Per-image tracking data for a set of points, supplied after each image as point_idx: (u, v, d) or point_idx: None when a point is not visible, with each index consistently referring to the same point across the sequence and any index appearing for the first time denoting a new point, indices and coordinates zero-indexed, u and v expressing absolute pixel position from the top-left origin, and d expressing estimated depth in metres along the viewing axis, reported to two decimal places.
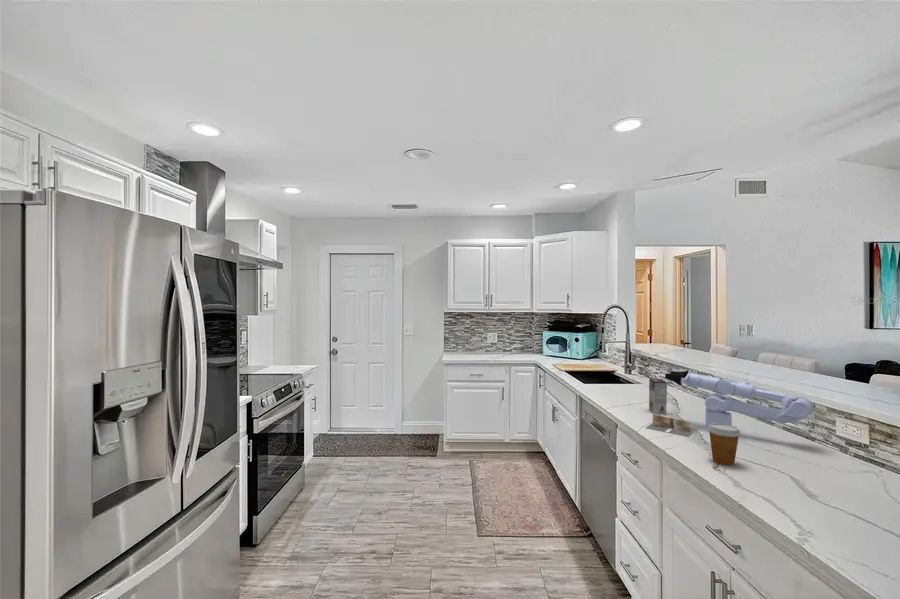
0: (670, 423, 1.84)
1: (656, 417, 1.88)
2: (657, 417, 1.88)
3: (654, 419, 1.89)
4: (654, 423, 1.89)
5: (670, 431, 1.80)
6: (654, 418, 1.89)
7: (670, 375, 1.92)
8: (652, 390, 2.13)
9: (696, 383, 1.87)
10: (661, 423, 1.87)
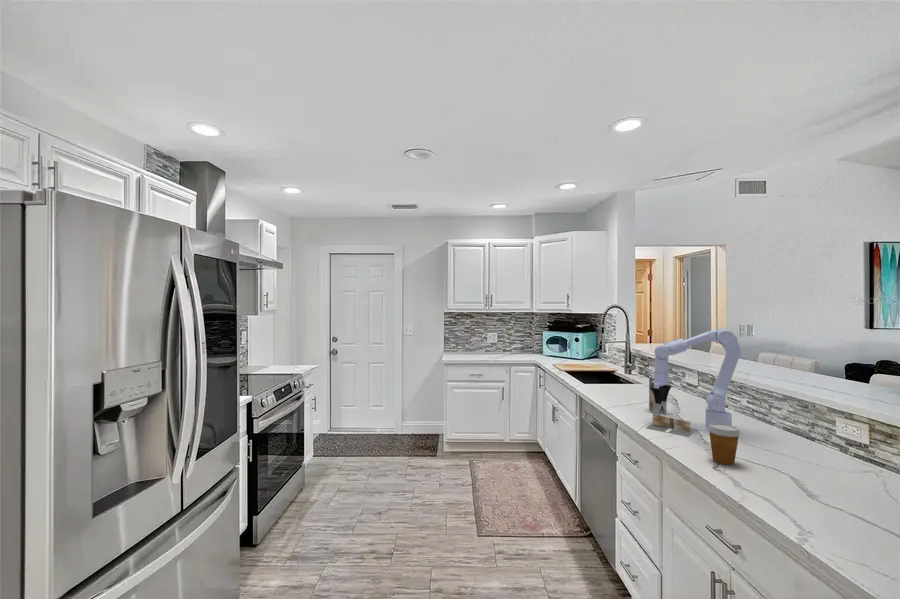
0: (670, 423, 1.84)
1: (656, 417, 1.88)
2: (657, 417, 1.88)
3: (654, 419, 1.89)
4: (654, 423, 1.89)
5: (670, 431, 1.80)
6: (654, 418, 1.89)
7: (656, 398, 1.90)
8: None
9: (661, 376, 1.90)
10: (661, 423, 1.87)
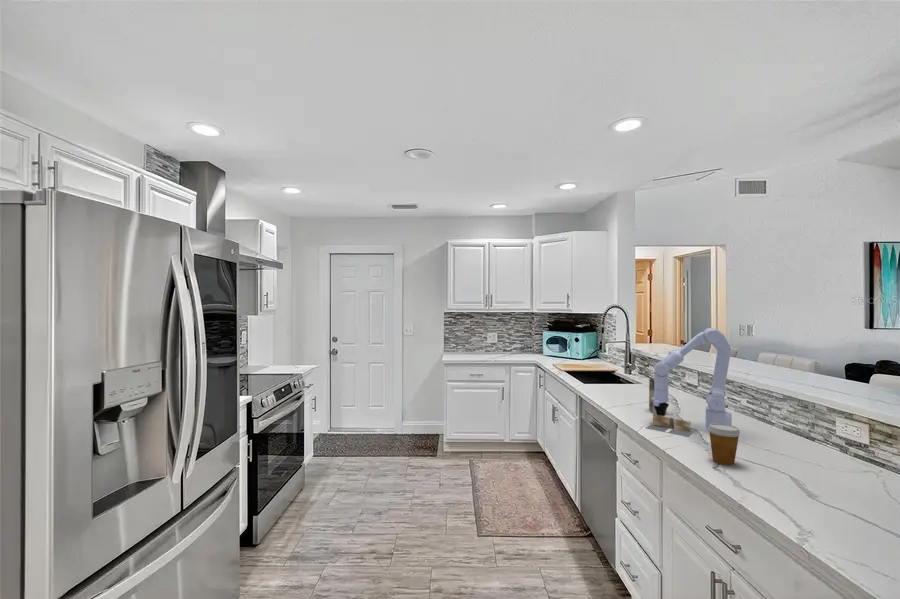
0: (670, 423, 1.84)
1: (656, 417, 1.88)
2: (657, 417, 1.88)
3: (654, 419, 1.89)
4: (654, 423, 1.89)
5: (670, 431, 1.80)
6: (654, 418, 1.89)
7: (658, 414, 1.92)
8: (652, 390, 2.13)
9: (660, 393, 1.90)
10: (661, 423, 1.87)
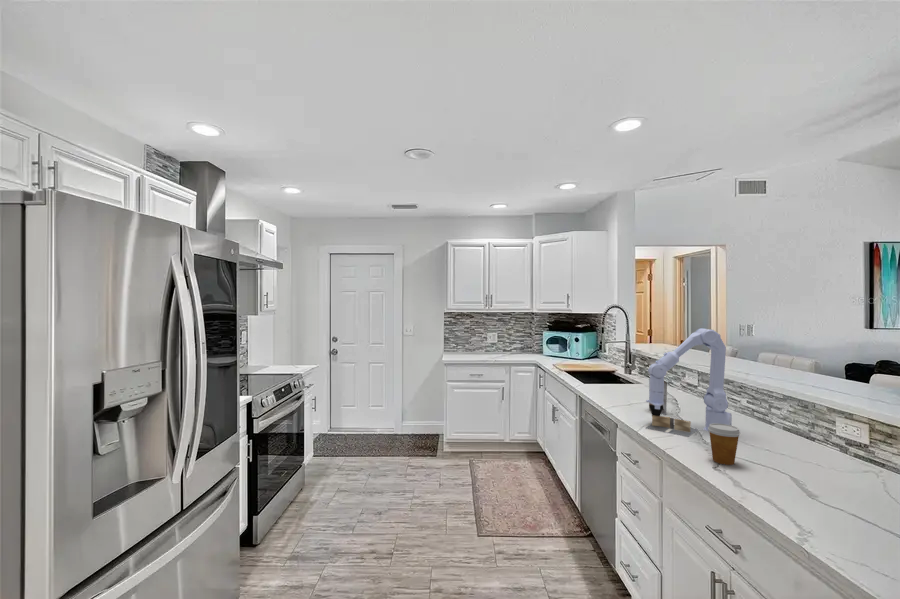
0: (670, 423, 1.84)
1: (656, 418, 1.87)
2: (657, 418, 1.87)
3: (654, 420, 1.87)
4: (653, 424, 1.87)
5: (670, 431, 1.80)
6: (654, 419, 1.87)
7: None
8: None
9: (658, 395, 1.86)
10: (661, 424, 1.86)
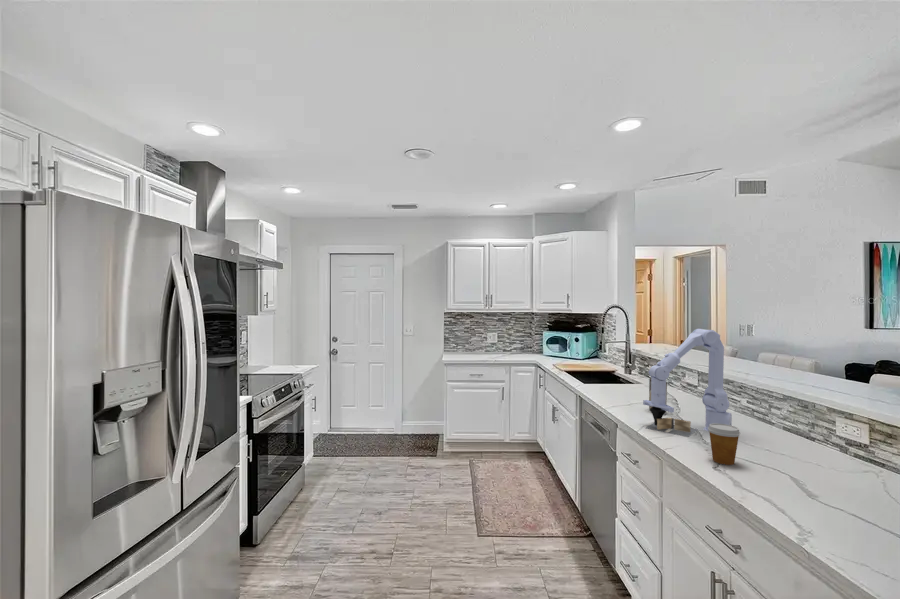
0: (672, 423, 1.84)
1: (662, 421, 1.82)
2: (662, 421, 1.82)
3: (660, 424, 1.82)
4: (660, 428, 1.82)
5: (670, 431, 1.80)
6: (660, 422, 1.82)
7: None
8: None
9: (664, 398, 1.82)
10: (665, 426, 1.83)
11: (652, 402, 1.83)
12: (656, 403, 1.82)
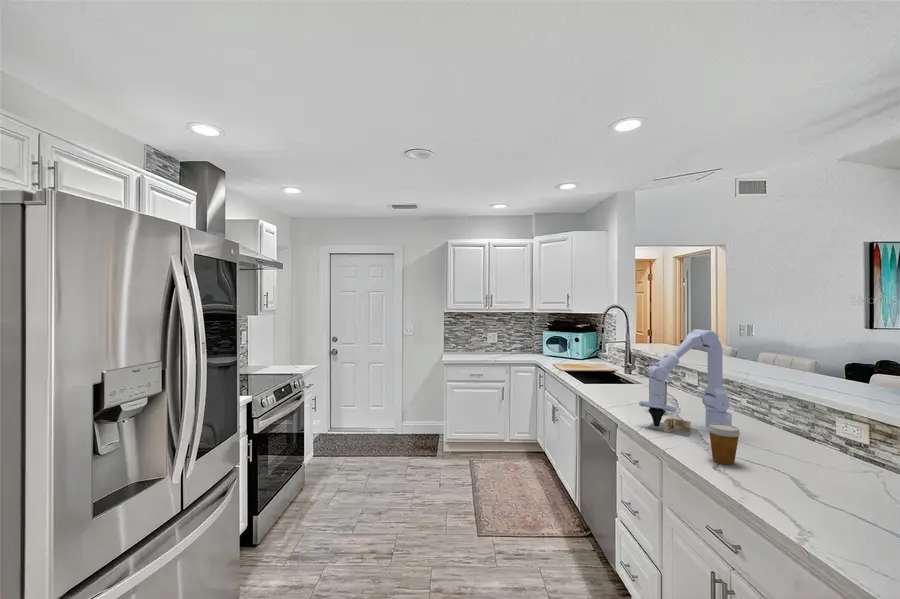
0: (673, 423, 1.84)
1: (668, 422, 1.80)
2: (668, 422, 1.80)
3: (667, 425, 1.79)
4: (667, 430, 1.79)
5: (670, 431, 1.80)
6: (667, 424, 1.79)
7: (658, 421, 1.82)
8: None
9: (664, 398, 1.81)
10: (669, 427, 1.81)
11: (653, 403, 1.81)
12: (658, 404, 1.80)
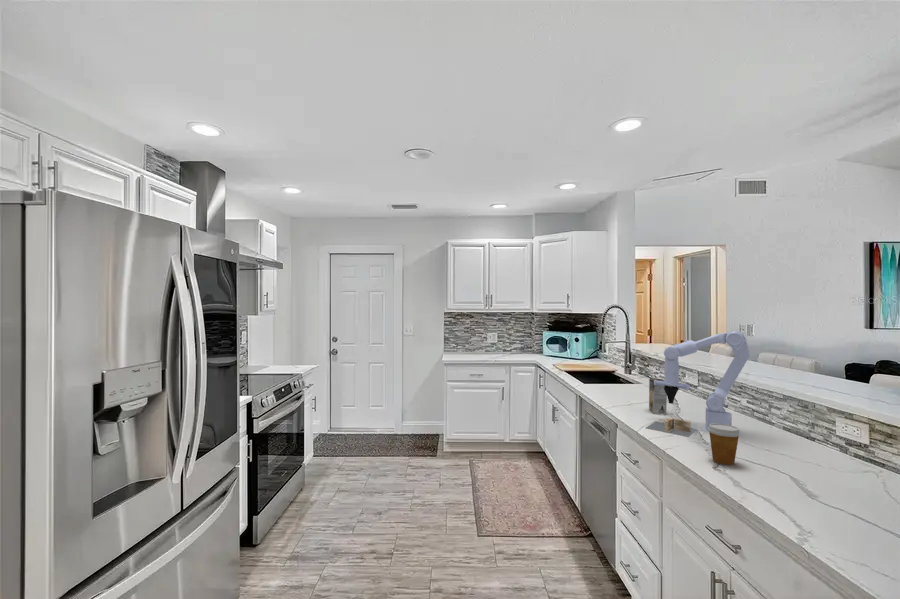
0: (673, 423, 1.84)
1: (668, 422, 1.80)
2: (669, 422, 1.80)
3: (667, 425, 1.79)
4: (667, 430, 1.79)
5: (670, 431, 1.80)
6: (667, 424, 1.79)
7: (672, 398, 1.93)
8: (652, 390, 2.13)
9: (678, 376, 1.93)
10: (670, 427, 1.81)
11: (668, 381, 1.92)
12: (673, 382, 1.91)
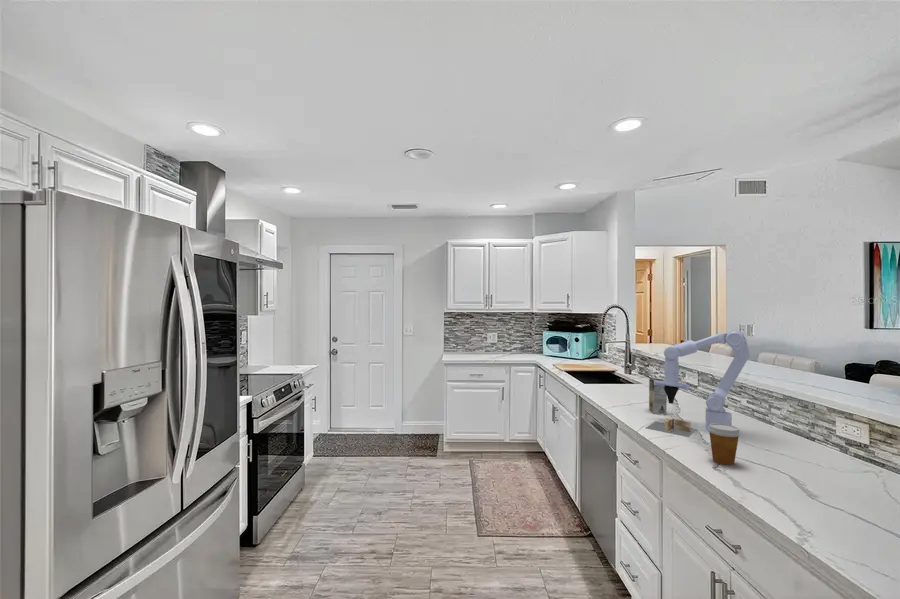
0: (673, 423, 1.84)
1: (668, 422, 1.80)
2: (669, 422, 1.80)
3: (667, 425, 1.79)
4: (667, 430, 1.79)
5: (670, 431, 1.80)
6: (667, 424, 1.79)
7: (672, 398, 1.93)
8: (652, 390, 2.13)
9: (678, 376, 1.93)
10: (670, 427, 1.81)
11: (668, 381, 1.92)
12: (673, 382, 1.91)
